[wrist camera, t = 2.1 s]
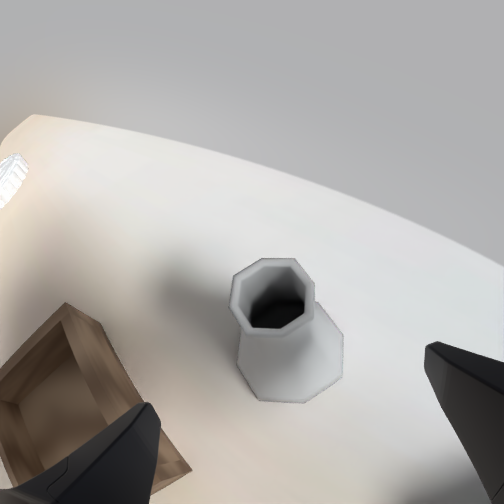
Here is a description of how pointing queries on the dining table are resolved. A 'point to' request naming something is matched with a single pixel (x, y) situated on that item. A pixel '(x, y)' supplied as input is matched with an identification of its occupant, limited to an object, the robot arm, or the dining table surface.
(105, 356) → the walled box
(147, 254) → the dining table surface
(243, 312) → the flask
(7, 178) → the mooncake
